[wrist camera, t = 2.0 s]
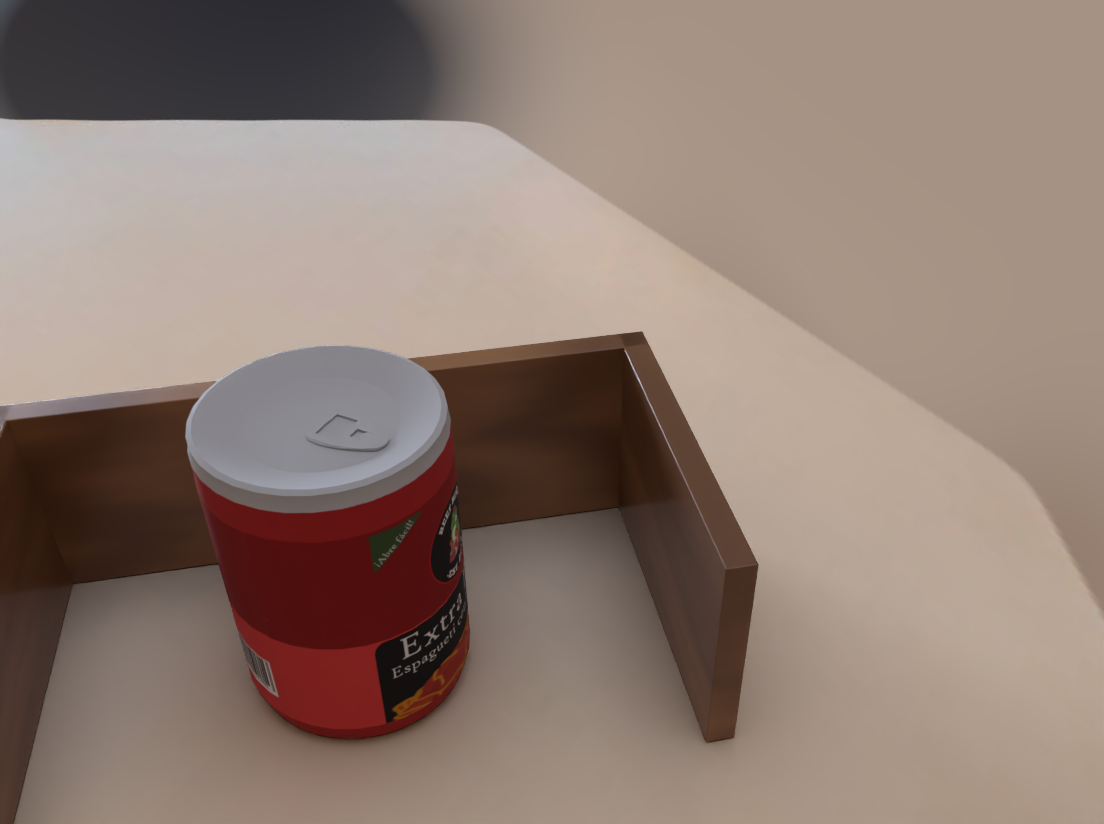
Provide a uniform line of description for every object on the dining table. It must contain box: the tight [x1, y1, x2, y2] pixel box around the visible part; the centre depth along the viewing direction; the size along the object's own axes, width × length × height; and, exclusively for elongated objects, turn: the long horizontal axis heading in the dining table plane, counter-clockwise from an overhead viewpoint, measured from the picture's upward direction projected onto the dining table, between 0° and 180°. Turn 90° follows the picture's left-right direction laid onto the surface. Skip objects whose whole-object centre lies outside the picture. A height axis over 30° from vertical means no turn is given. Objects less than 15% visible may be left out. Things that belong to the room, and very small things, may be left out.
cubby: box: [0, 332, 758, 824], centre depth 36 cm, size 24×13×8 cm, turn 101°
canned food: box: [185, 346, 470, 738], centre depth 35 cm, size 8×8×11 cm
